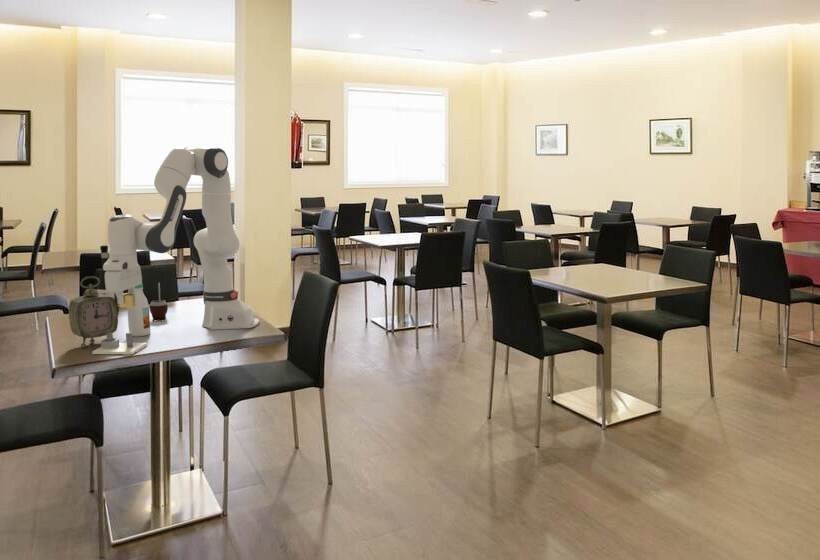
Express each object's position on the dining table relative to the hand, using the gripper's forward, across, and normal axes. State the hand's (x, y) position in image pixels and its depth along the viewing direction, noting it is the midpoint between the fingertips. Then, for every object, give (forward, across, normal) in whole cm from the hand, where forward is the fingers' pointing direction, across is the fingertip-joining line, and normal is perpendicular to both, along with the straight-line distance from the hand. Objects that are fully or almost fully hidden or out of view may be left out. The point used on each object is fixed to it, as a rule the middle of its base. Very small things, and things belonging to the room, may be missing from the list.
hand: (126, 301), depth 243 cm
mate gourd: (+17, -49, -10) cm, 53 cm away
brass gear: (+2, 0, 0) cm, 2 cm away
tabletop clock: (+18, -9, -17) cm, 26 cm away
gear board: (+18, 0, -3) cm, 18 cm away
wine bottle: (+18, -60, -36) cm, 72 cm away
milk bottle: (+18, -23, -6) cm, 30 cm away
